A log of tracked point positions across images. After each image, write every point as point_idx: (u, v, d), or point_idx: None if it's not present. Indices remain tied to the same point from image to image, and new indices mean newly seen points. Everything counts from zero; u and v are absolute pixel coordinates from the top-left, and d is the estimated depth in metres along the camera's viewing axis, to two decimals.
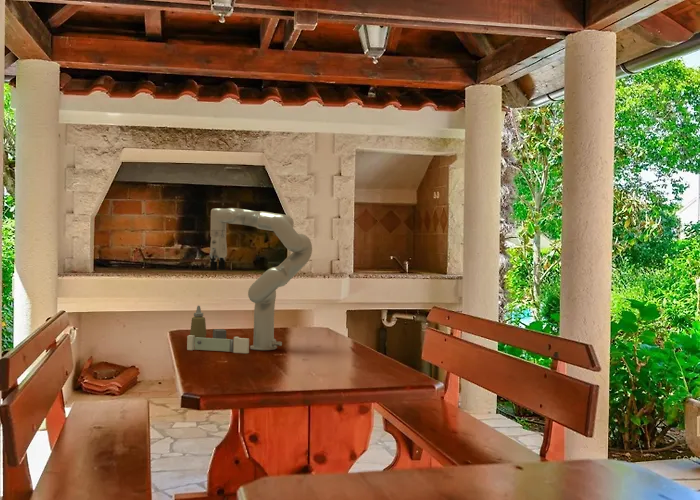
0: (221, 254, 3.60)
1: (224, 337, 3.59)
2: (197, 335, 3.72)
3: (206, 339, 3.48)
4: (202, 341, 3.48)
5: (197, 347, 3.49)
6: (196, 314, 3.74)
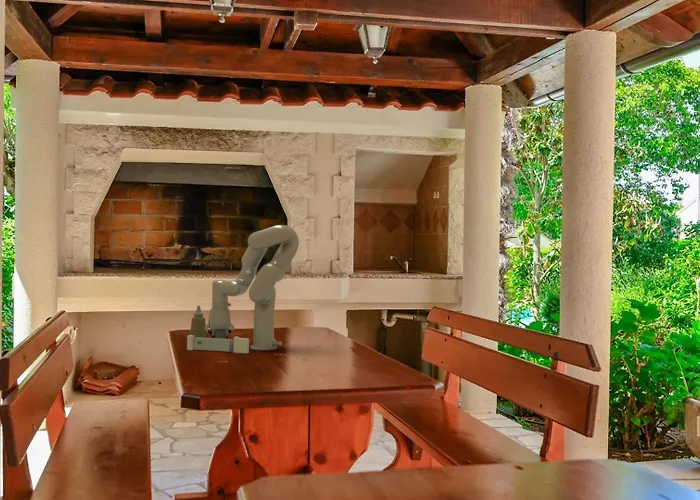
0: None
1: (224, 337, 3.59)
2: (197, 335, 3.72)
3: (206, 339, 3.48)
4: (202, 341, 3.48)
5: (197, 347, 3.49)
6: (196, 314, 3.74)
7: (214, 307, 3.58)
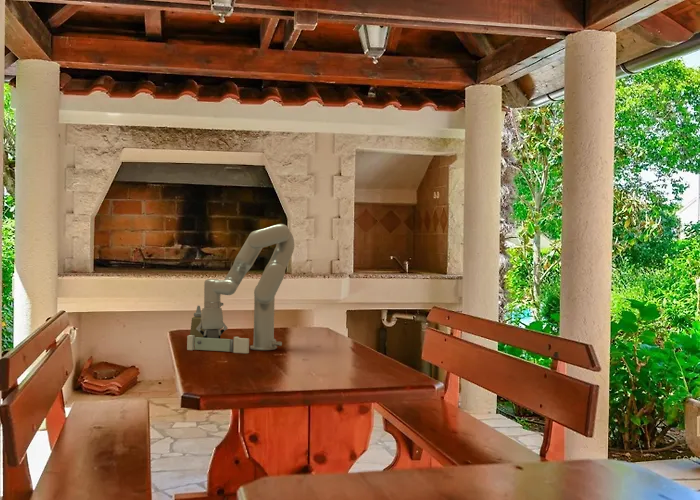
0: None
1: (216, 337, 3.52)
2: (197, 335, 3.72)
3: (206, 339, 3.48)
4: (202, 341, 3.48)
5: (197, 347, 3.49)
6: (196, 314, 3.74)
7: (206, 307, 3.52)
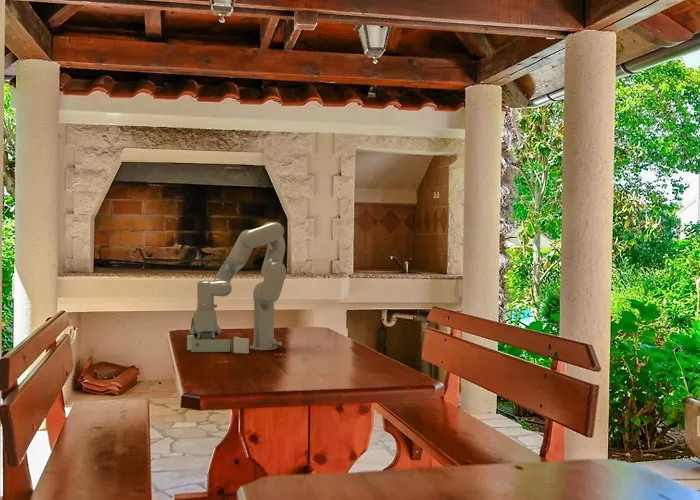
0: None
1: None
2: None
3: (204, 341, 3.42)
4: (200, 343, 3.42)
5: (194, 350, 3.42)
6: None
7: (199, 309, 3.44)
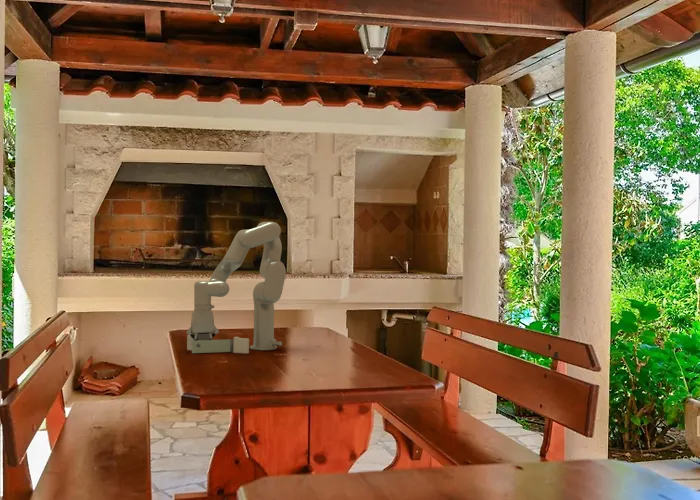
0: None
1: None
2: None
3: (205, 341, 3.40)
4: (201, 344, 3.39)
5: (195, 351, 3.39)
6: None
7: (196, 309, 3.41)
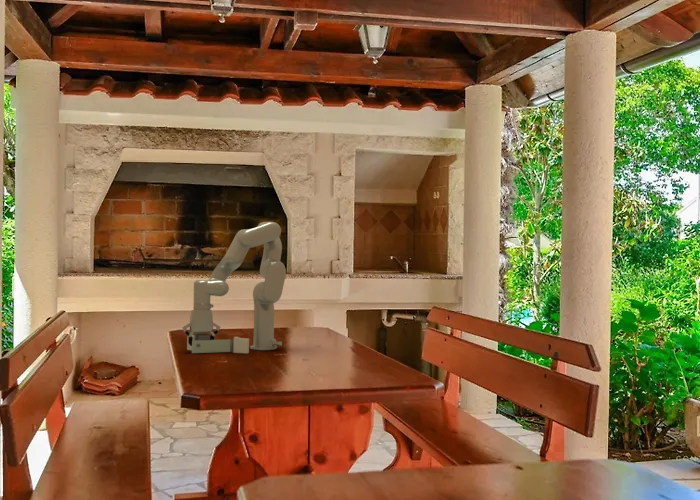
0: None
1: None
2: None
3: (205, 341, 3.40)
4: (201, 344, 3.40)
5: (195, 351, 3.39)
6: None
7: (195, 308, 3.41)
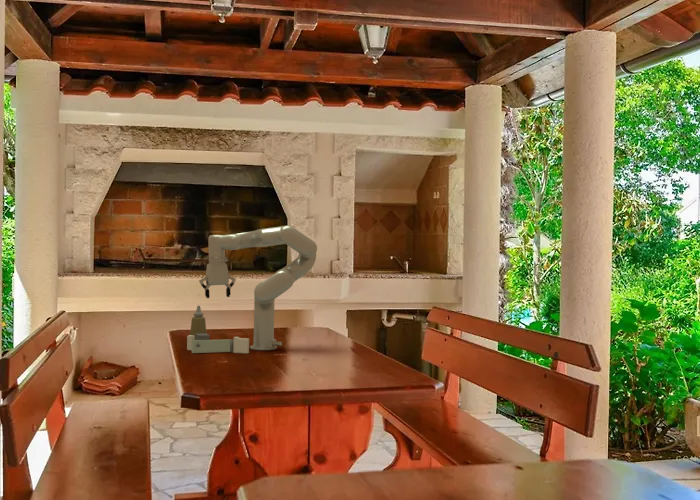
0: None
1: None
2: None
3: (205, 341, 3.40)
4: (201, 344, 3.40)
5: (195, 350, 3.39)
6: (196, 314, 3.74)
7: (211, 262, 3.51)
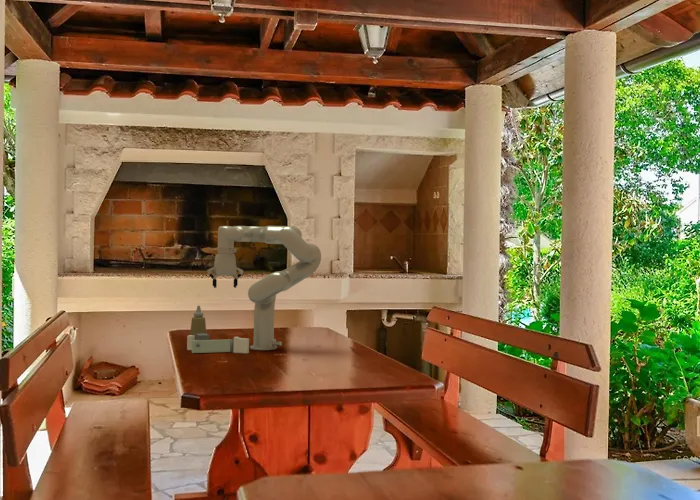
0: None
1: None
2: None
3: (205, 341, 3.41)
4: (200, 344, 3.40)
5: (195, 350, 3.39)
6: (196, 314, 3.74)
7: (220, 252, 3.58)
